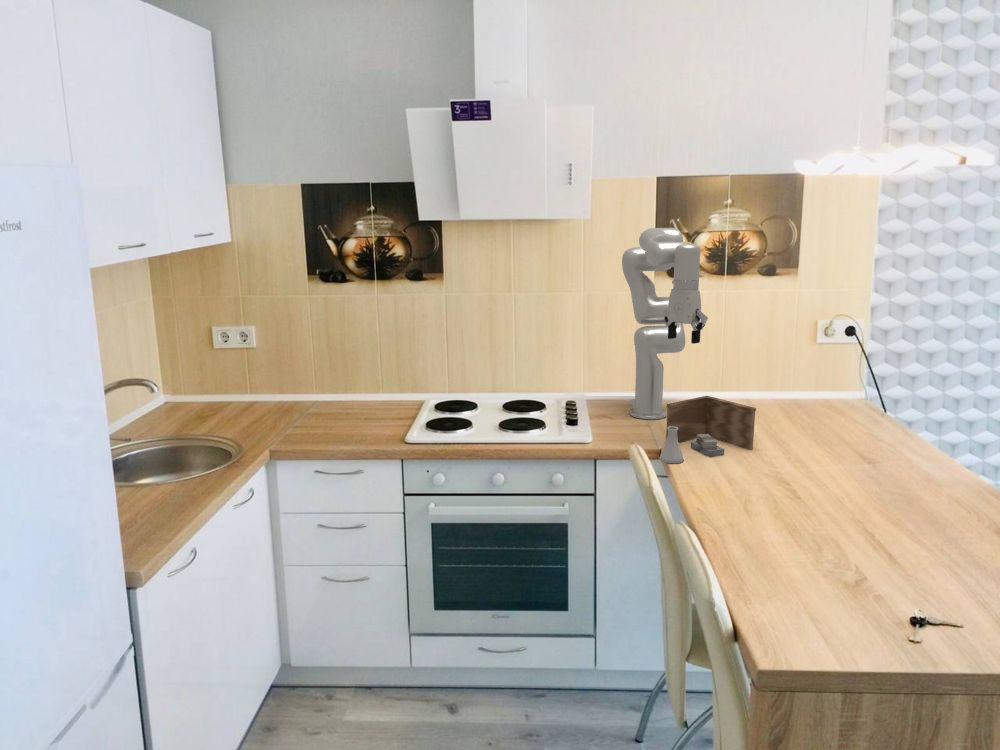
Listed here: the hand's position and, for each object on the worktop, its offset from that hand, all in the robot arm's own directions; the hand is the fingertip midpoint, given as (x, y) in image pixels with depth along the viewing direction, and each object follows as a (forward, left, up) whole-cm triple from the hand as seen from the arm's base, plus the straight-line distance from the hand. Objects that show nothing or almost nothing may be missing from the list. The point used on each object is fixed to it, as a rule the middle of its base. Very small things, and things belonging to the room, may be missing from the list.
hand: (683, 340), depth 264 cm
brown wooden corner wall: (+10, +3, -32) cm, 34 cm away
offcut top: (+12, -1, -30) cm, 33 cm away
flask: (+12, -16, -33) cm, 38 cm away
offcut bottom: (+12, -1, -33) cm, 35 cm away
